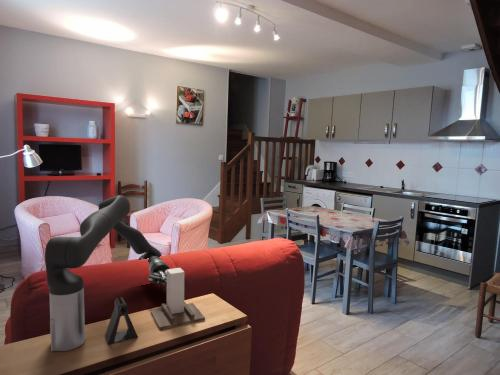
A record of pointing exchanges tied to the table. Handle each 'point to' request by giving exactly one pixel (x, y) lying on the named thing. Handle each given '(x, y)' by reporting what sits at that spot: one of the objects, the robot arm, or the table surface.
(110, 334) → the phone stand
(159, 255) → the robot arm
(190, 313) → the ridged brown base plate
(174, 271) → the cream block
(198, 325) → the table surface
